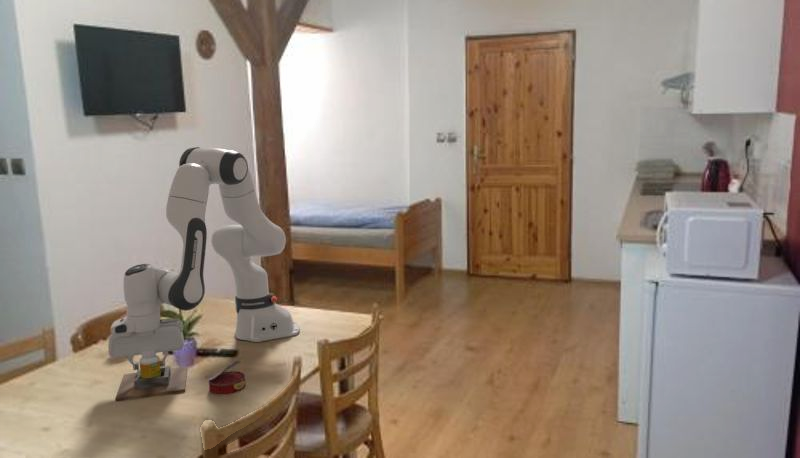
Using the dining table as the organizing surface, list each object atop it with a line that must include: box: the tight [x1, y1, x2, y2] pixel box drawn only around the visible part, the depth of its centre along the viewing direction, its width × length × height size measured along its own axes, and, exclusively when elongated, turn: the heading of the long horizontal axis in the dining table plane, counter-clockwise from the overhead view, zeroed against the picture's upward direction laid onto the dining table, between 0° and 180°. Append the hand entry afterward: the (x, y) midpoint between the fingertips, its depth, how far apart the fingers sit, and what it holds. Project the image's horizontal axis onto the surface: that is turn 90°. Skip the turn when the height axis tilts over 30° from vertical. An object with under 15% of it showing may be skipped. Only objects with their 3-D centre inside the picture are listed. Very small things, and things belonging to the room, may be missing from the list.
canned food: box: [208, 360, 246, 396], centre depth 183 cm, size 11×10×10 cm
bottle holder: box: [115, 365, 188, 402], centre depth 188 cm, size 18×18×3 cm
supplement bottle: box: [139, 349, 161, 379], centre depth 186 cm, size 5×5×10 cm
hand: (149, 367), depth 188 cm, fingers open, 6 cm apart
